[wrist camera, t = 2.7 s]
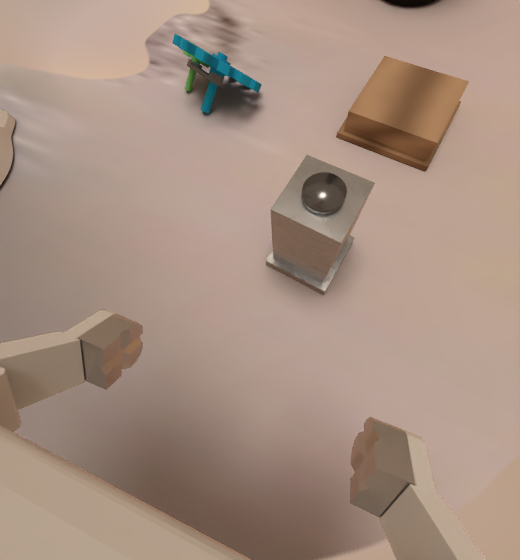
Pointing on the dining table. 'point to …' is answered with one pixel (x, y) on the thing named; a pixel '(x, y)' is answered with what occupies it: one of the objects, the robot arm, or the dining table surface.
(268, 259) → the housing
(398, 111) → the stand
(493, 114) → the dining table surface
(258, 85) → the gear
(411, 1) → the coffee jar
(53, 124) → the dining table surface
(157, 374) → the dining table surface
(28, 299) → the dining table surface
